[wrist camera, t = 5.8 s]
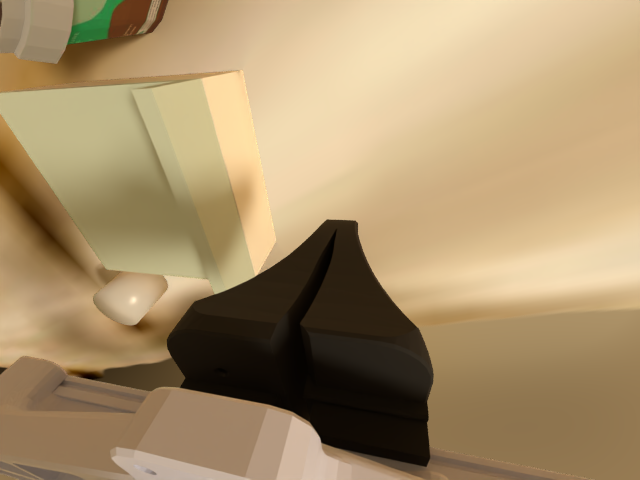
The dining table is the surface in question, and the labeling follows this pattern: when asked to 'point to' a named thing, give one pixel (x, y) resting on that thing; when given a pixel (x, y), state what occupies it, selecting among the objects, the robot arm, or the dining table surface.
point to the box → (229, 151)
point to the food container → (71, 24)
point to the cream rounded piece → (130, 296)
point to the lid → (138, 175)
